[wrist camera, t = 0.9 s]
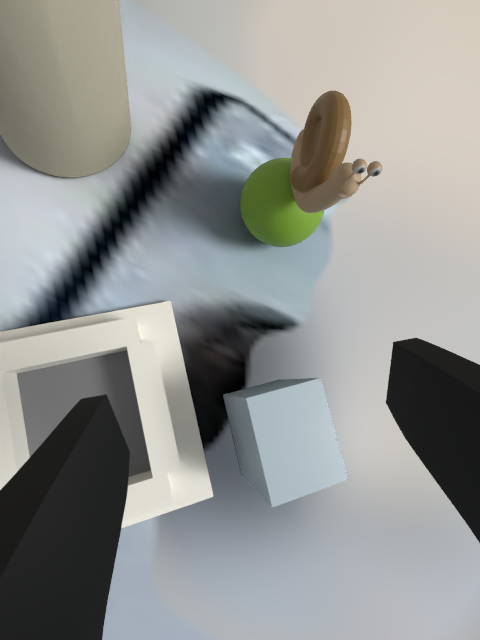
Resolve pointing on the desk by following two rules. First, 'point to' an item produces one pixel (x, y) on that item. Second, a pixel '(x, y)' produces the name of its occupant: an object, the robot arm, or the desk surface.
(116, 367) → the socket plate
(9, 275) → the desk surface
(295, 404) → the plug block
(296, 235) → the snail figurine
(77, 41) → the travel mug
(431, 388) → the robot arm
